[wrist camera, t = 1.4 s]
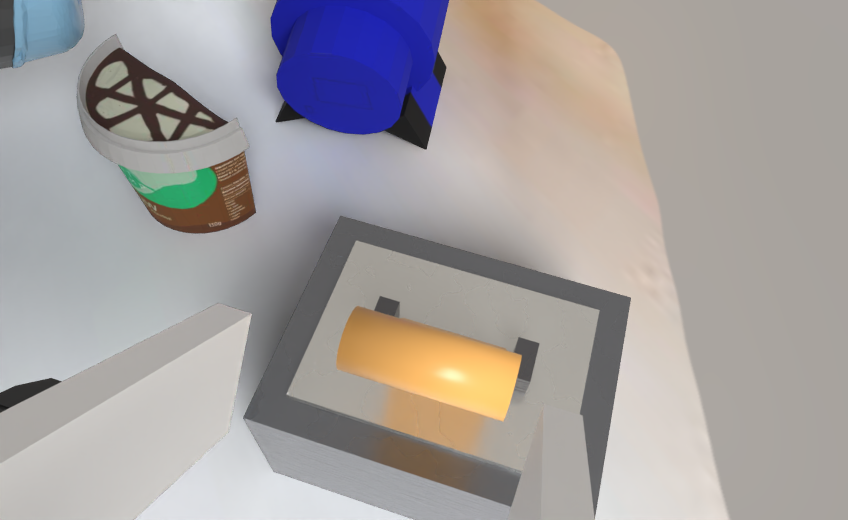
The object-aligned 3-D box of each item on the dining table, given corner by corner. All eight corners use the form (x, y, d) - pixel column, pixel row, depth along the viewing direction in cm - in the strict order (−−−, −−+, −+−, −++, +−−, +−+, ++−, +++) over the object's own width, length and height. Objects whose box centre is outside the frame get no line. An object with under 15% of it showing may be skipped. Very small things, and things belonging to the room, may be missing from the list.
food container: (89, 186, 48) (23, 80, 39) (157, 138, 50) (110, 30, 42) (203, 280, 44) (158, 185, 35) (270, 223, 47) (243, 122, 38)
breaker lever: (502, 385, 30) (502, 427, 20) (387, 350, 31) (330, 373, 21) (515, 339, 30) (522, 357, 20) (400, 305, 31) (350, 305, 21)
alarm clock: (447, 62, 56) (463, -116, 44) (421, 170, 50) (431, -4, 37) (309, 41, 57) (285, -140, 45) (265, 144, 51) (223, -34, 38)
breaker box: (549, 565, 35) (603, 525, 26) (273, 471, 37) (234, 403, 28) (587, 367, 42) (642, 279, 32) (349, 296, 44) (338, 195, 35)
